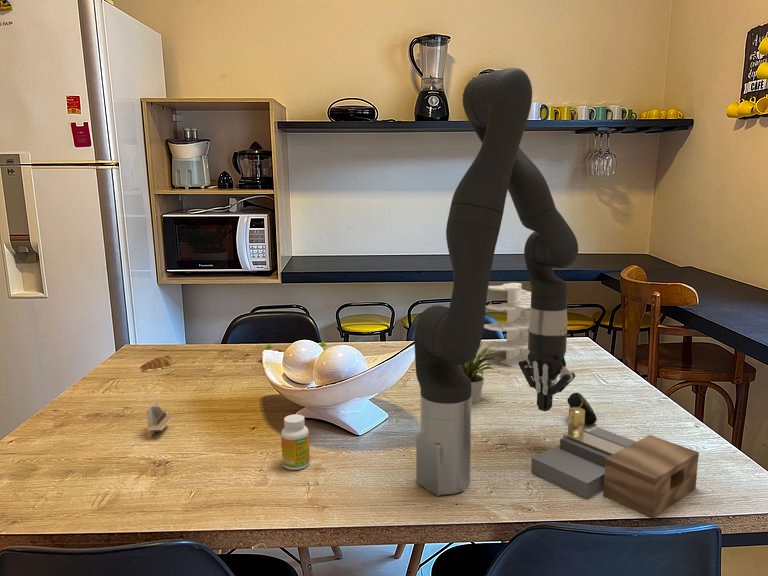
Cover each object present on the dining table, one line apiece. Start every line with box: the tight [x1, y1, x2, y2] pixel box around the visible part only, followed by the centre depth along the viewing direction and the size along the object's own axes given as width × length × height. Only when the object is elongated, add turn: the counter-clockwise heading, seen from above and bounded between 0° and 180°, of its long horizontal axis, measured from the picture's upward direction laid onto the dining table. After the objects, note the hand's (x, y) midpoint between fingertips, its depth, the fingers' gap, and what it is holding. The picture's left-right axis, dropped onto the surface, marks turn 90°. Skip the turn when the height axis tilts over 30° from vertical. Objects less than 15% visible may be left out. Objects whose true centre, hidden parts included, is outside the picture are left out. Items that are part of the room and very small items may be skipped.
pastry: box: [140, 354, 175, 370], centre depth 169 cm, size 9×7×4 cm
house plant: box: [459, 340, 498, 405], centre depth 141 cm, size 14×14×16 cm
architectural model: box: [146, 400, 174, 439], centre depth 125 cm, size 3×7×7 cm, turn 1°
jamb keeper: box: [602, 434, 700, 519], centre depth 99 cm, size 15×9×7 cm, turn 127°
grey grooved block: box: [530, 427, 637, 500], centre depth 109 cm, size 22×12×5 cm, turn 127°
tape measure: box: [567, 392, 598, 425], centre depth 129 cm, size 7×7×4 cm
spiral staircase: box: [481, 282, 531, 370], centre depth 172 cm, size 18×18×25 cm
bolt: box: [562, 407, 624, 456], centre depth 108 cm, size 4×11×7 cm, turn 37°
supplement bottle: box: [280, 413, 311, 471], centre depth 111 cm, size 5×5×10 cm
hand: (544, 409), depth 117 cm, fingers closed
